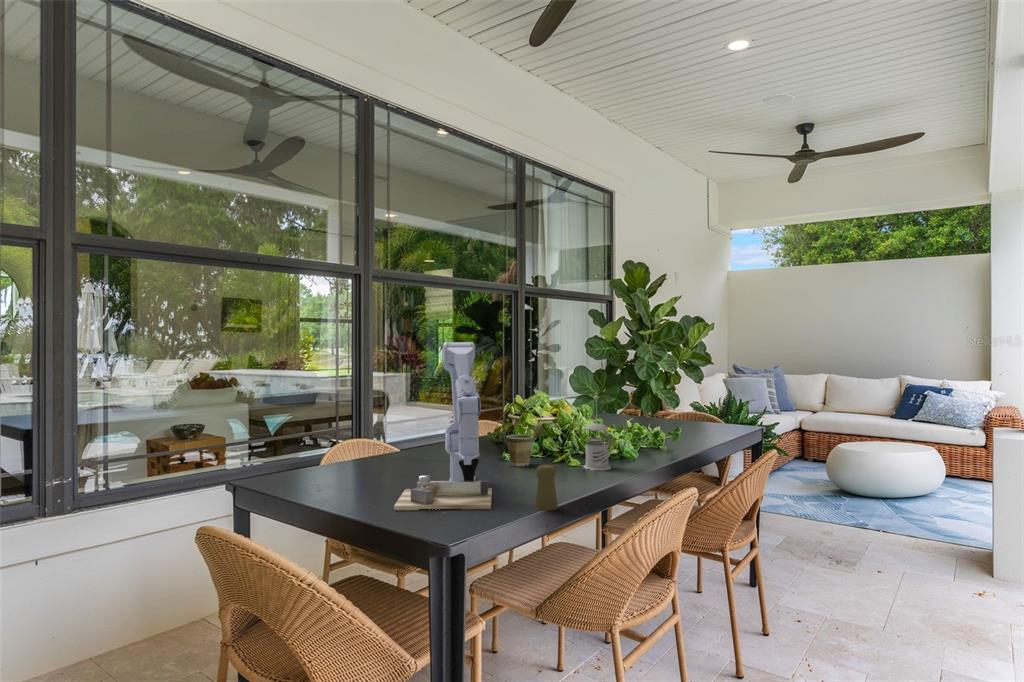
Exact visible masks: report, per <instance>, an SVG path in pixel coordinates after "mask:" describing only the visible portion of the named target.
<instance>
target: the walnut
mask: <svg viewBox="0 0 1024 682" xmlns="http://www.w3.org/2000/svg"><path fill="white" fill-rule="evenodd" d="M425 489H427V490H432V491H433V499H434V498H435V497H436V495H437V491H436V489H435V488H434V487H433V486H428V487H426V488H425Z"/></svg>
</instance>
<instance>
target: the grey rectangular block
mask: <svg viewBox="0 0 1024 682" xmlns="http://www.w3.org/2000/svg"><path fill="white" fill-rule="evenodd" d="M410 489H411V501H412V502H417V503H421V504H425V505H427V504H431V503H433V491H432V490H427V489H423V488H418V487H417V486H416V487H413V488H410Z"/></svg>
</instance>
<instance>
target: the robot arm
mask: <svg viewBox="0 0 1024 682" xmlns="http://www.w3.org/2000/svg"><path fill="white" fill-rule="evenodd" d="M475 357H476V346H475V343H474V342H473V341H470V342H469V341H466V342H465V341H464V342H462V341H461V342H460V341H459V342H458V341H457V342H451V341H450V342H447V341H444V342H443V343H442V362H443V363H442V365H443V368H444V370H445V371H447V372H448V373H449V375H450V379H451V394H452V395H451V398H452V417H453V422H452V423H451V424H450V425H448V426H447V427H446V428H445V433H444V436H445V437H444V447H445V452H446V453H447V454H449V472H450V475H449V476H450V477H449V479H448V481H476V476H475V474H476V470H477V467H478V465H479V463H480V459H479V458H477V457H480V455H481V454H480V449H479V448H480V445H479V442H480V441H479V440H480V439H479V434H480V432H479V421H480V420H479V416H480V415H481V409H482V405H481V403H482V402H481V398H480V395H479V392H477V389H476V383H475V379H474V378H473V377H472V376H470V372H471V371H470V370H472V369H473V366H474V361H475Z"/></svg>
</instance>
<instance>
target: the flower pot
mask: <svg viewBox="0 0 1024 682" xmlns="http://www.w3.org/2000/svg"><path fill="white" fill-rule="evenodd" d="M505 440H506V446H507V449H508V455H509V460H510V461H509V462H510V464H511V466H513V465H514V467H526V466H525V465H527V466H530V462H531V460H530V459H531V454H532V449H533V446H534V440H535V436H534V435H531V434H523V433H522V434H520V433H519V434H510V435H509V434H508V435H506V436H505Z"/></svg>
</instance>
